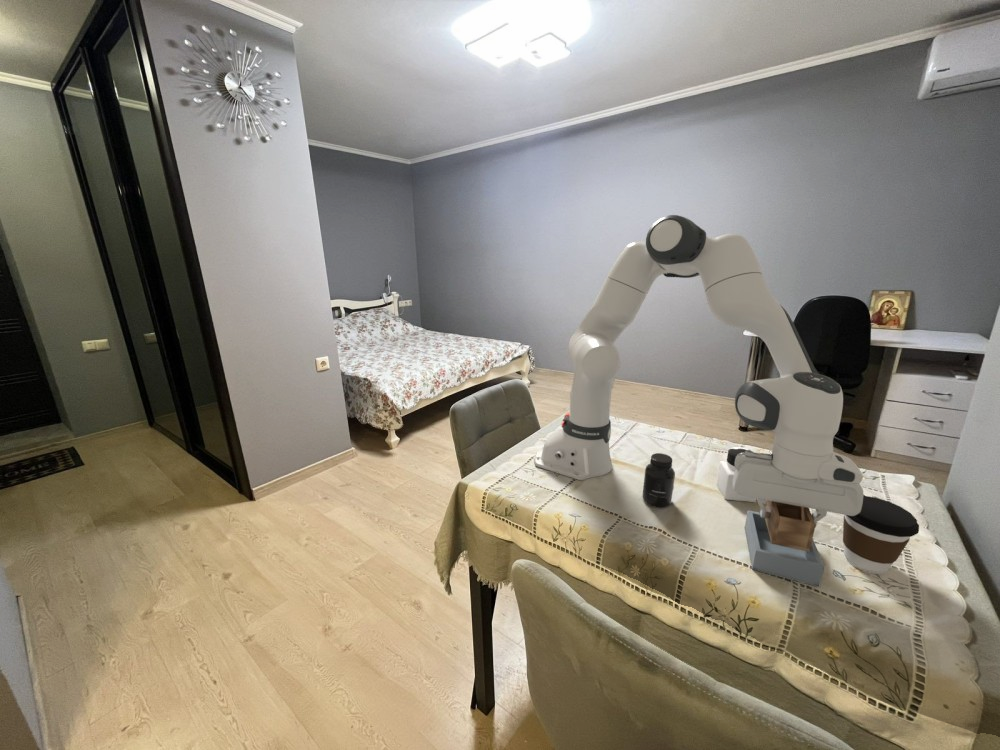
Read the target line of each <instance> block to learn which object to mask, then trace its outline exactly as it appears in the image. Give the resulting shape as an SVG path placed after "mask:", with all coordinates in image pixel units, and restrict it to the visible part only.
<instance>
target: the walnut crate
mask: <svg viewBox="0 0 1000 750" xmlns="http://www.w3.org/2000/svg"><path fill="white" fill-rule="evenodd" d="M765 507H770V511H771V515H770V519H767V518H765V520H766V524H767V528H768V532H769V536H770V540H771V544H776V545H780V546H785V547H790V548H794V549H799V550H803V551H808V552H810V547H811V543H812V539H813V540H814V533H815V529H816V527H817V524H815V522H814V520H813V517H812V515H811V514H812V513H811V511H810V508H806V507H801V506H795V505H790V504H785V503H779V502H774V501H769V500H767V501H766V504H765ZM815 526H816V527H815Z"/></svg>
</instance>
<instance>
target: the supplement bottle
mask: <svg viewBox="0 0 1000 750" xmlns="http://www.w3.org/2000/svg"><path fill="white" fill-rule="evenodd" d="M675 477H676V472H675V470H674V468H673V458H672V457H671V456H670V455H668V454H665V453H660V452H659V453H658V452H656V453H653V454H651V456H650V462H649V464H647V465H646V466H645V469H644V477H643V485H642V487H643V488H642V500H643V501H644V502H645V503H646V504H647V505H648V506H651V507H653V508H657V509H658V508H660V509H664V508H667V507H669V506H670V505H671V503H672V498H673V493H674V485H675V479H676V478H675Z"/></svg>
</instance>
